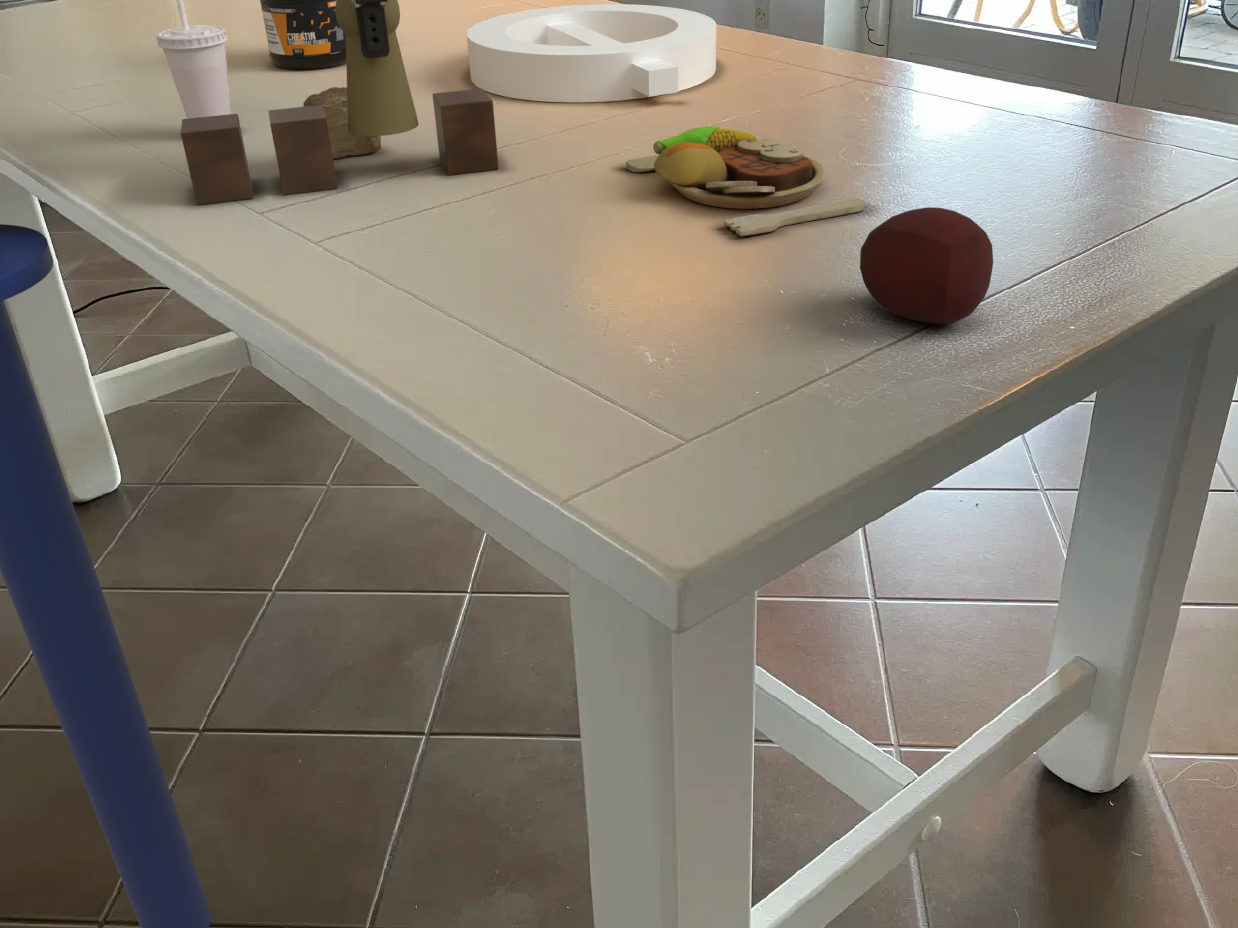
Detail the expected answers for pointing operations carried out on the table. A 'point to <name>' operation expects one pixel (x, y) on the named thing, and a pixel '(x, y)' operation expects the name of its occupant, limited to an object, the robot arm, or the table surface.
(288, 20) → the supplement container
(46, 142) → the table surface
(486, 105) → the block
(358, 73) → the olive round-topped cone
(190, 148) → the block
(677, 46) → the white circle with bar
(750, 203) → the toy food set
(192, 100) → the smoothie
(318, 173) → the block
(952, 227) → the potato
